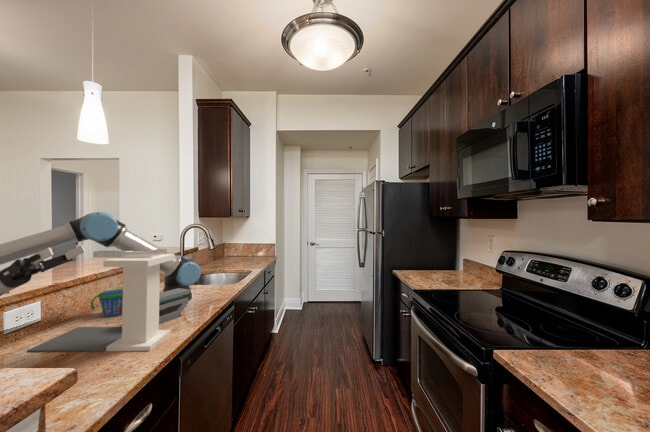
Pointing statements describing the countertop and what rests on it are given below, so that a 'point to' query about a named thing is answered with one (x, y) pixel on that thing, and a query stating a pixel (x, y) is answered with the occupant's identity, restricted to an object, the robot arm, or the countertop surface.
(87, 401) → the countertop surface
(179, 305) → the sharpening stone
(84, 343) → the mat
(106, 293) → the snack cup
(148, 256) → the bracket
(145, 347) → the stand
